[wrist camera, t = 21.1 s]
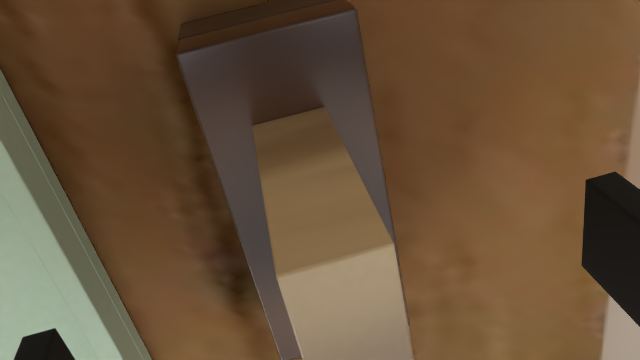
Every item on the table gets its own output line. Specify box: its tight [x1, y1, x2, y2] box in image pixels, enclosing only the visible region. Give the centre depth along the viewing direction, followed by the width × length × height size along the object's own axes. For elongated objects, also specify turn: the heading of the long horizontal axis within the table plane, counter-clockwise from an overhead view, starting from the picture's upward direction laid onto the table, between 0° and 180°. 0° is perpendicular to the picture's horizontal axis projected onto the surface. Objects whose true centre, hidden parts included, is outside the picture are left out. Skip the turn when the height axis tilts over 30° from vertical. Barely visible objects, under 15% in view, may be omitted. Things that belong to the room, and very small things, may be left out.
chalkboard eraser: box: [176, 0, 414, 360], centre depth 16 cm, size 12×5×10 cm, turn 12°
